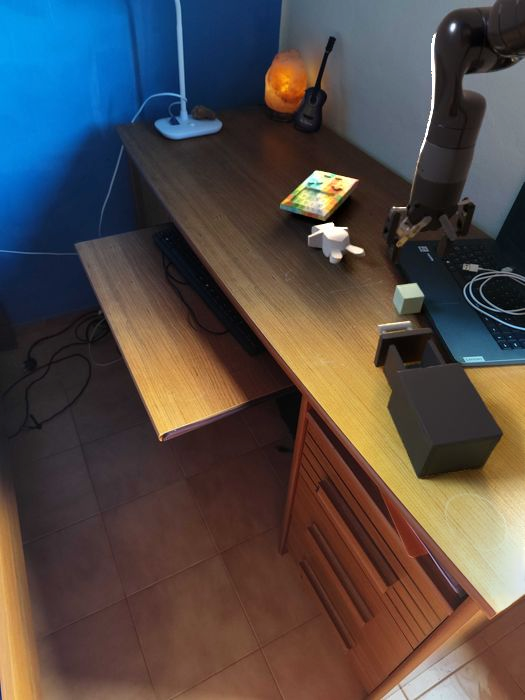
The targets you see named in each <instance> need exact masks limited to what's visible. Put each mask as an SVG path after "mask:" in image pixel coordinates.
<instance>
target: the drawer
mask: <svg viewBox="0 0 525 700" xmlns="http://www.w3.org/2000/svg"><path fill="white" fill-rule="evenodd" d="M377 332H378V333H379V336H378V337H379V338H378V342H377V347H376V352H375V355H374V360H373V364H374V367H375V368H383V371H382V372H383V375H384V377H385V380H386V381H387V384H388V386H389V388H390V391H392V388H393V385H394V381H395V378H396V374H397V372H398V371H404V370H411V369H419V368H426V367H433V366H440V365H447V362H446V361H445V359H444V358H443V355H442V354H441V352H440V351H439V349H438V347H437V345H436V344H435V342H434V341H433V339H432V337H433V333H434V331H433V330H432V328H431V327H423V328H415V329H413V325H412V322H411V320H408V321H399V322H392V323H385V324H377ZM418 362H419V363H418ZM411 363H414V364H411ZM405 364H407V365H405Z"/></svg>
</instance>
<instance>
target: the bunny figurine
mask: <svg viewBox="0 0 525 700" xmlns="http://www.w3.org/2000/svg"><path fill="white" fill-rule="evenodd" d="M307 246H309V247H311V248H312V247H313V248H318V249H322V252H323V253H322V254H323V255H324V256H325V257H326V258H329V262H330V263H331V264H338V263H340V262H341V260H342V258H343V256H344V255H346V254H348V253H351V254H352V255H354V256H356V257H359V258H364V257H365V256H366V252H365V250H364V248H362V247H358V246H354V245H352V244H351V240H350V234H349V228H348V227H343V226H342V227H341V226H335V224H334V223H333V222H327V223H324V224H323V223H322V224H318V225H313V226H311V234H309V235H307Z"/></svg>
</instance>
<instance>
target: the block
mask: <svg viewBox="0 0 525 700" xmlns="http://www.w3.org/2000/svg"><path fill="white" fill-rule="evenodd" d="M424 300H425V295H424V293H423V291H422V289H421V288H420V286H419V285H418V283H417V282H415V283H414V282H413V283H407V284H399V285H398V284H397V285H396V286H395V291H394V295H393V298H392V303H393V305H394V307H395V309H396V310H397V312H398V314H399V315H400V316H402V315H409V314H417V313H418V314H419V313H420V312H421V309H422V307H423V303H424Z"/></svg>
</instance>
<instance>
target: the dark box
mask: <svg viewBox="0 0 525 700" xmlns="http://www.w3.org/2000/svg"><path fill="white" fill-rule="evenodd" d="M446 364H447V363H446ZM386 408H387V411H388V412H389V415H390V417H391V419H392V422H393V424H394V427H395V429H396V431H397V433H398V436H399V438H400V440H401V443H402V445H403V447H404V450H405V452H406V455H407V457H408V459H409V461H410V463H411V466H412V468H413V471H414V473H415V475H416V477H417V479H424V478H430V477H434V476H435V477H436V476H442V475H446V474H447V475H448V474H454V473H460V472H466V471H472V470H479V469H483V468H484V467H485V465H486V463H487V462H488V460H489V458H490V457H491V455H492V454H493V453H494V450H495V449H496V448H497V446H498V444H499V442H500V441H501V439H502V437H503V436H504V432H503V430H502V428H501V427H500V426H499V424H498V422H497V421H496V419H495V417H494V416H493V414H492V413H491V411H490V410H489V408H488V406H487V404H486V403H485V401H484V400H483V398H482V396H481V395H480V393H479V392H478V390H477V388H476V387H475V385H474V384H473V382H472V380H471V379H470V377H469V375H468V373H467V372H466V370H465V369H464V368H463V365H462V364H461V362H456V363H448V364H447V365H440V366H433V367H426V368H419V369H411V370H404V371H398V372H397V374H396V378H395V381H394V385H393V388H392V390H391V392H390V395H389V399H388V403H387V406H386Z"/></svg>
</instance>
